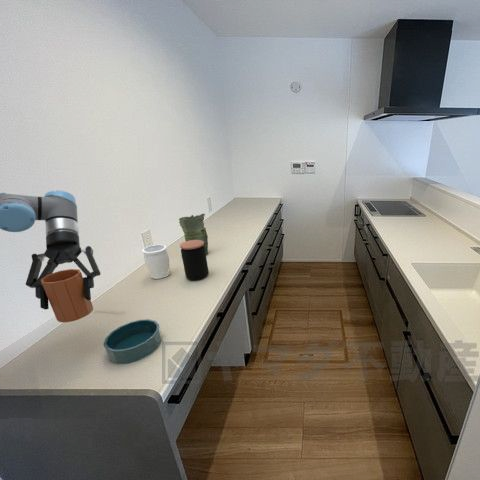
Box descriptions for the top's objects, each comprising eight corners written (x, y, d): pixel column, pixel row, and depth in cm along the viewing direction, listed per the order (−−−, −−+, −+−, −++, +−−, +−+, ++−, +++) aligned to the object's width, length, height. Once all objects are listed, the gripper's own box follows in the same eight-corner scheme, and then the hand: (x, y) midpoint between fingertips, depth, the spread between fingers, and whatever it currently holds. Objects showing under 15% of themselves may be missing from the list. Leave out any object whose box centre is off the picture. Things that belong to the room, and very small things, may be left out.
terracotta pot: (59, 326, 75) (42, 286, 71) (54, 314, 81) (39, 276, 76) (96, 313, 81) (83, 275, 77) (89, 302, 87) (77, 266, 82)
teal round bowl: (116, 373, 78) (111, 359, 76) (103, 348, 87) (98, 335, 85) (169, 345, 89) (166, 332, 87) (152, 326, 98) (149, 313, 96)
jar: (144, 276, 133) (137, 249, 128) (165, 268, 141) (160, 242, 136) (155, 282, 127) (148, 254, 122) (176, 274, 135) (170, 247, 130)
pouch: (184, 258, 153) (176, 217, 144) (195, 250, 164) (188, 211, 155) (202, 259, 152) (195, 218, 143) (212, 251, 163) (206, 212, 154)
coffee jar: (199, 269, 140) (193, 238, 134) (213, 274, 136) (208, 241, 130) (181, 278, 131) (174, 245, 125) (196, 283, 127) (190, 249, 121)
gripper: (108, 235, 92) (115, 296, 85) (21, 246, 81) (21, 317, 74) (102, 225, 86) (109, 289, 79) (7, 235, 75) (6, 311, 68)
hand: (66, 303), depth 76 cm, fingers closed on terracotta pot, 9 cm apart
